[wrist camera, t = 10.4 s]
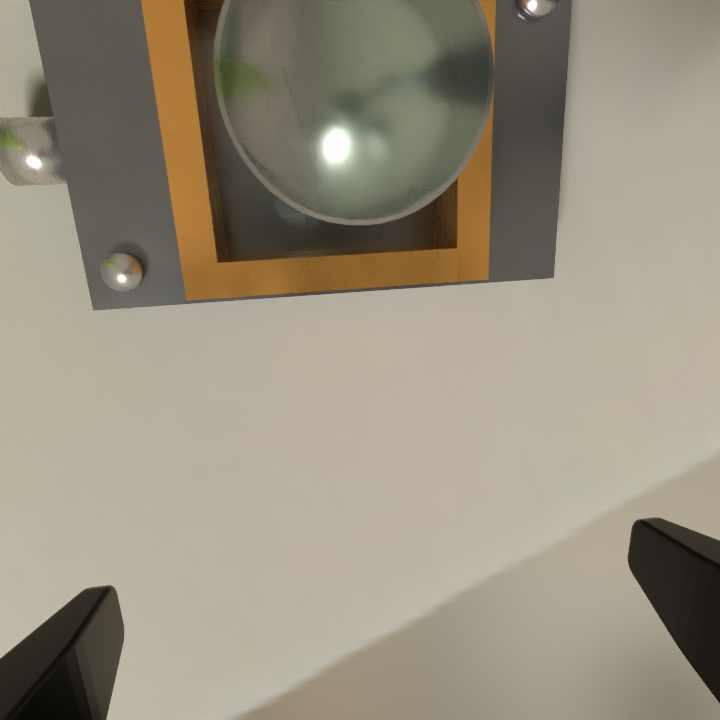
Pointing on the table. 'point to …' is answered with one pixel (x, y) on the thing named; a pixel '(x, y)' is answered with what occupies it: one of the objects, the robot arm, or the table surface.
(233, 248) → the grey orange socket fixture
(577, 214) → the table surface
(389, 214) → the spout can
